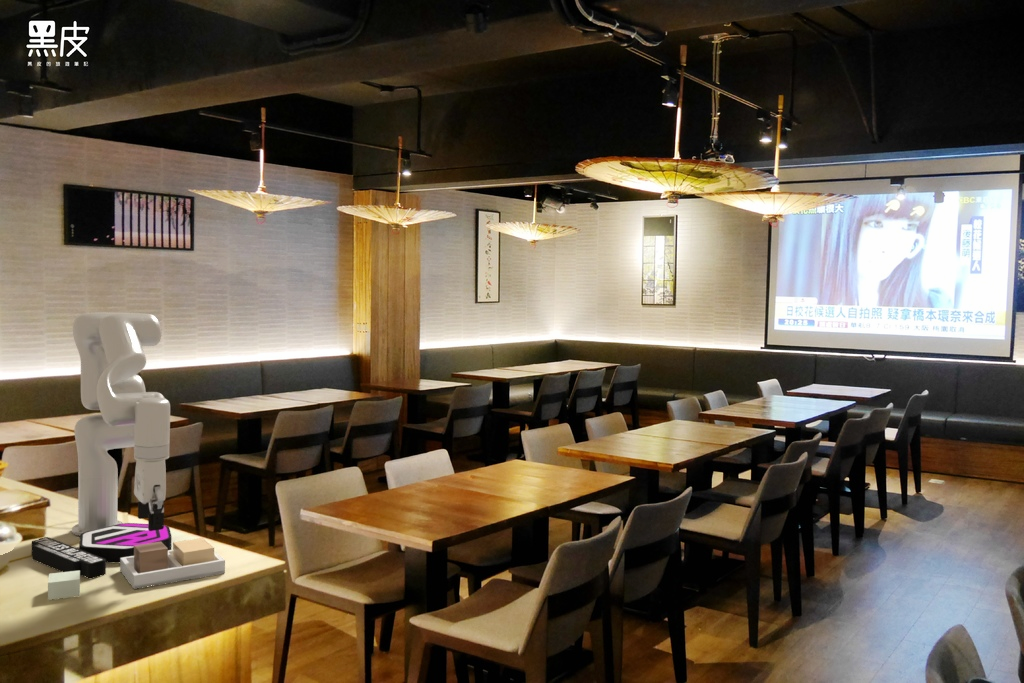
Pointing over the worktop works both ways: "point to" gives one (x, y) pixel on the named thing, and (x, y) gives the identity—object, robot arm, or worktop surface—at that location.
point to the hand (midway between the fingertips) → (150, 523)
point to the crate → (178, 564)
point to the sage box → (63, 585)
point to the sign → (97, 548)
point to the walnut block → (150, 557)
